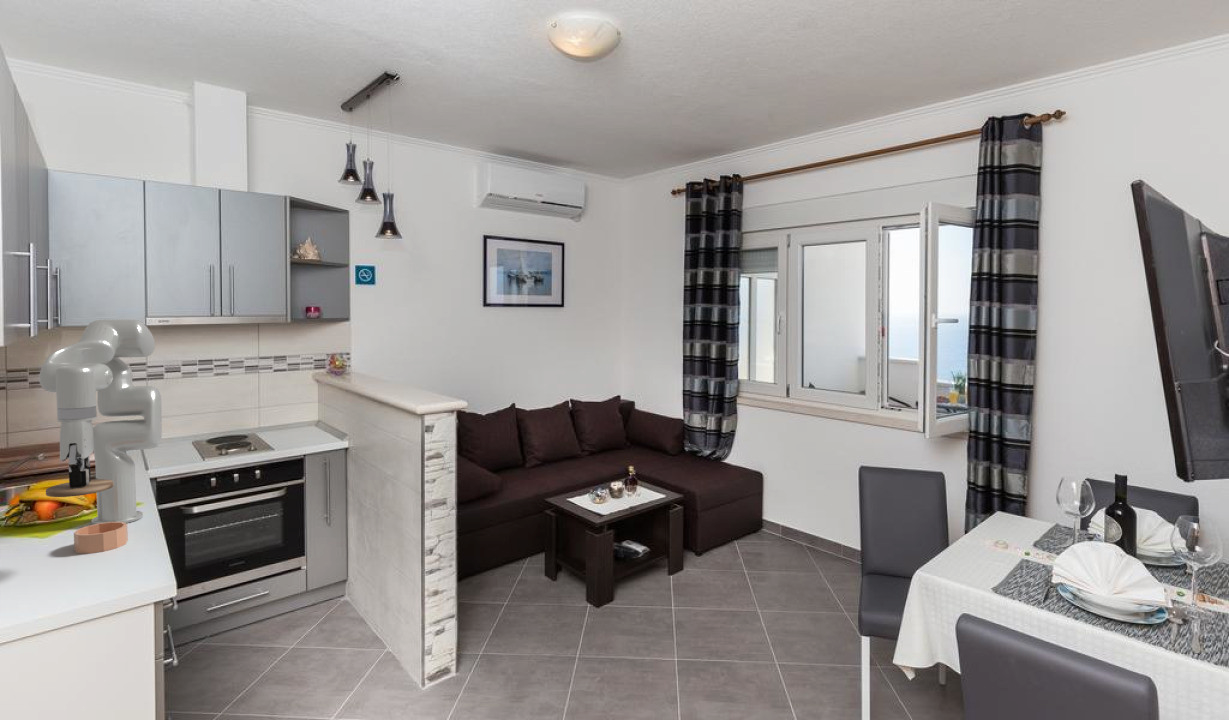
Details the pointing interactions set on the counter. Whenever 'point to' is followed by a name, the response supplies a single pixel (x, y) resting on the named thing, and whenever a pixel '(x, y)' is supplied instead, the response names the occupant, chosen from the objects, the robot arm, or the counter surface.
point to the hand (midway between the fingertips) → (80, 484)
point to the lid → (80, 488)
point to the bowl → (100, 537)
